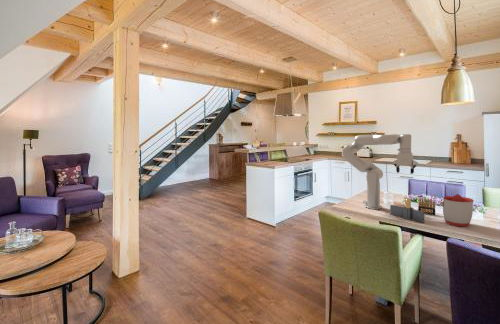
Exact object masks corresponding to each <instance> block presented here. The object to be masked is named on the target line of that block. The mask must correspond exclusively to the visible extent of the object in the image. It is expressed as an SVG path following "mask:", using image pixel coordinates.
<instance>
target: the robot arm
mask: <svg viewBox="0 0 500 324" xmlns="http://www.w3.org/2000/svg"><path fill="white" fill-rule="evenodd" d="M353 140H354V141H353V142H352V143H350V144H346V145H344V146H343V148H342V152H341V153H342V156H343V158H344V159H345V161H347V162H348V163H349V164H350V165H351V166H352V167H354V168H355V169H356V170H357V171H359V172H360V173H366V182H367V183H366V186H367V187H366V188H367V189H366V190H367V191H366V193H367V194H366V195H367V196H366V197H367V198H366V200H363V201H362V204H365V205H364V206H366V207H367V208H366V207H365V208H366V209H369V208H371V210H381V209H382V208H383V206H382V205H381V183H380V179H383V176H384V172H383V170H382V169H381V168H379V167H378V166H377V165H375V164H374V163H373V162H372V161H370V160H363V159H361V158H360V157H359V156H357V155H356V154H357V153H358V152H359V151H361V149H362V148H363V147H365V146H378V145H379V146H380V145H381V146H382V145H384V146H386V145H389V146H390V145H397V144H399V148H397V151H398V153H397V157H396V160H394V161H392V164H393V166H394V167H395V169H396V170H395V171H396V173H397V174H398V173H400V166H401V167H403V166H404V167H410V174H411V175H412V174H414V173H415V172H414V171H415V168H416V167H418V164H419V162H417V161H415V160H414V155H413V152H412V134H411V133H410V134H409V133H407V134H397V133H395V134H394V133H393V134H374V133H373V134H358V135H356V136H355V137H354V139H353Z"/></svg>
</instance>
